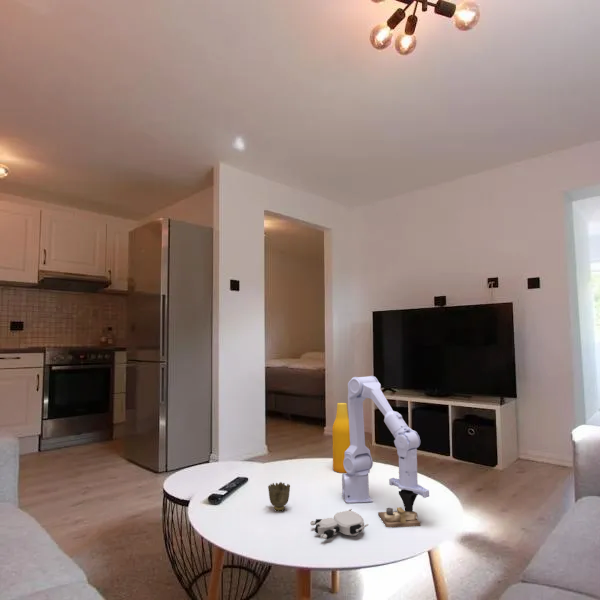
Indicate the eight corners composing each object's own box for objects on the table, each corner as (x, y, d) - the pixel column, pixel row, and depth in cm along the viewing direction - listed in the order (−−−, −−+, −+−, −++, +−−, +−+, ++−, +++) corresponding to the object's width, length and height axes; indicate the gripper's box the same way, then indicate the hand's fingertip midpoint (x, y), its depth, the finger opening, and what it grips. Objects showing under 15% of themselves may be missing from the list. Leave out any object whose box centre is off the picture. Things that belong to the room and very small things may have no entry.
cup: (294, 509, 144) (294, 485, 145) (279, 516, 139) (279, 490, 139) (279, 504, 149) (279, 480, 150) (263, 510, 144) (263, 485, 144)
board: (386, 527, 129) (386, 512, 129) (378, 515, 138) (377, 501, 139) (420, 526, 130) (419, 511, 130) (409, 513, 139) (409, 499, 140)
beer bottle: (339, 466, 194) (338, 401, 197) (357, 469, 189) (356, 403, 192) (328, 471, 187) (327, 404, 190) (347, 474, 182) (346, 405, 185)
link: (386, 522, 130) (386, 516, 130) (383, 517, 133) (383, 512, 133) (418, 519, 132) (418, 514, 132) (414, 515, 135) (414, 510, 135)
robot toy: (322, 549, 118) (371, 537, 122) (321, 532, 118) (370, 521, 123) (309, 531, 129) (354, 521, 134) (307, 516, 130) (352, 506, 134)
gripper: (382, 466, 140) (383, 509, 139) (418, 478, 128) (419, 525, 127) (397, 463, 144) (397, 504, 143) (432, 474, 132) (434, 519, 131)
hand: (409, 514), depth 135 cm, fingers closed, pressing on link
